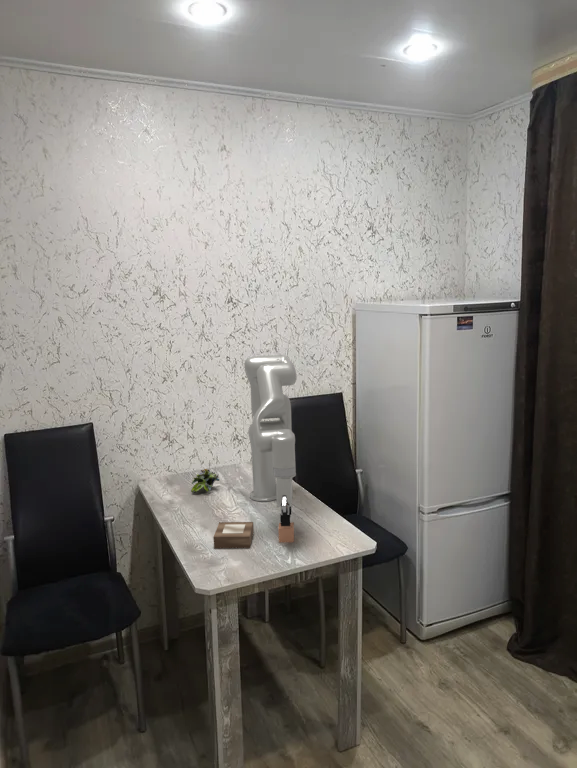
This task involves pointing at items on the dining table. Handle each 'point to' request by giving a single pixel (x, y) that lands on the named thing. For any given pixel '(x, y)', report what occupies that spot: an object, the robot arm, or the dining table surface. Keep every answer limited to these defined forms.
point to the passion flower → (204, 480)
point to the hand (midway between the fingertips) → (286, 520)
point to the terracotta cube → (286, 533)
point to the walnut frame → (233, 535)
